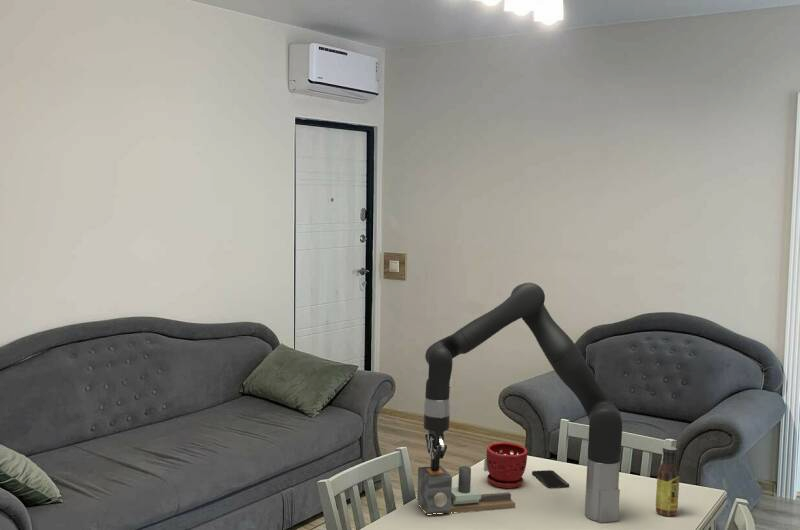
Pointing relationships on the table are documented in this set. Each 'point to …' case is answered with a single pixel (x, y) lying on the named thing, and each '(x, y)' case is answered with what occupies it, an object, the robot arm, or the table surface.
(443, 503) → the rail
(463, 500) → the mint plate with knob
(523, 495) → the table surface
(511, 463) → the plant pot
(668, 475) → the sauce bottle
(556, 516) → the table surface
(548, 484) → the phone
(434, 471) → the button
